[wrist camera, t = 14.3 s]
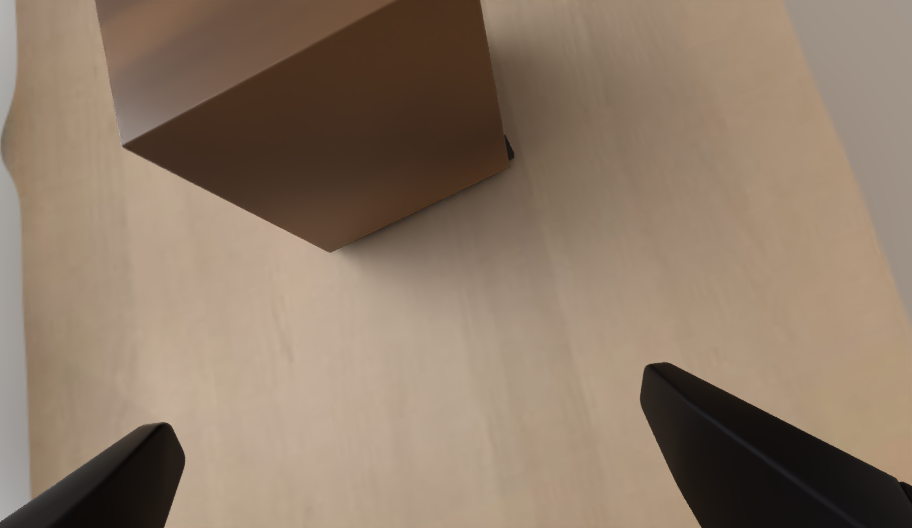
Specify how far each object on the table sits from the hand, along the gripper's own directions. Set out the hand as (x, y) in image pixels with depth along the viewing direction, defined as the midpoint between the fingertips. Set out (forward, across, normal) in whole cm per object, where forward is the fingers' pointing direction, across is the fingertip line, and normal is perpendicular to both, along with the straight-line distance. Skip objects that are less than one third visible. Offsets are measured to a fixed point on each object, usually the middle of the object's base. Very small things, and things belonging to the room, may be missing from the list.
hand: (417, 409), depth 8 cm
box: (+10, +1, -3) cm, 10 cm away
